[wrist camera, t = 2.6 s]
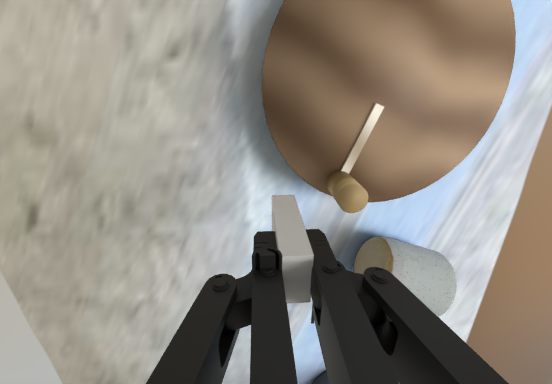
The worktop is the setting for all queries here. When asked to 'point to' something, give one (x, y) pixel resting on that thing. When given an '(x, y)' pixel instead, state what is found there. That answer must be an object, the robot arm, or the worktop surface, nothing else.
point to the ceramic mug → (412, 270)
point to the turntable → (384, 90)
